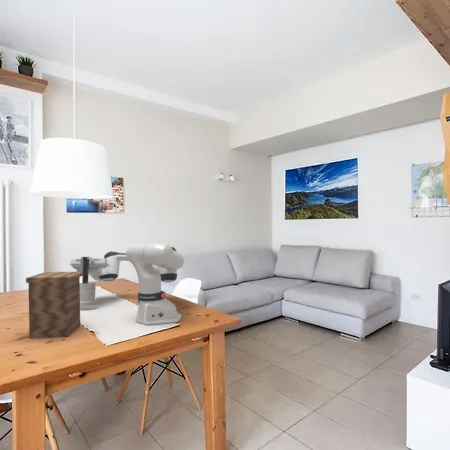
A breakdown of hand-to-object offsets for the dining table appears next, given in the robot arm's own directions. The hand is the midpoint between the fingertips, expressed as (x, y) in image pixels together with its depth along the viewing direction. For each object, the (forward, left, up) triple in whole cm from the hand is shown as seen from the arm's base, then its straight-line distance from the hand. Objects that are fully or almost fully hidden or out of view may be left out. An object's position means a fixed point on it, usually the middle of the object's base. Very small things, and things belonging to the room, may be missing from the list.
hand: (85, 257), depth 179 cm
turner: (0, -1, -12) cm, 12 cm away
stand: (0, +36, -30) cm, 47 cm away
